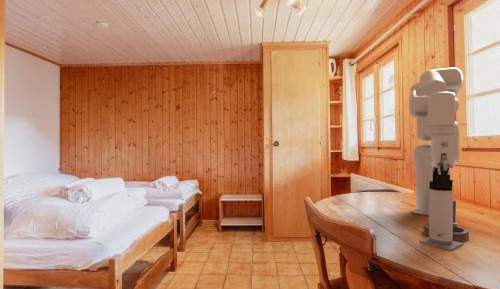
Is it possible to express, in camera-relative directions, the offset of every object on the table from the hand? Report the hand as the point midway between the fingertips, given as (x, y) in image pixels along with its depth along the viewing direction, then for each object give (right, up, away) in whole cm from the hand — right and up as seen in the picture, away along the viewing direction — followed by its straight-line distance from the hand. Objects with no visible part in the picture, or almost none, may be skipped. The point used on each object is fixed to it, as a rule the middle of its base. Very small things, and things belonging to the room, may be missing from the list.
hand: (440, 185), depth 92 cm
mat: (0, -19, -1) cm, 19 cm away
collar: (+7, -19, +8) cm, 21 cm away
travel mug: (0, -18, 0) cm, 18 cm away
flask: (+16, -19, +20) cm, 32 cm away
